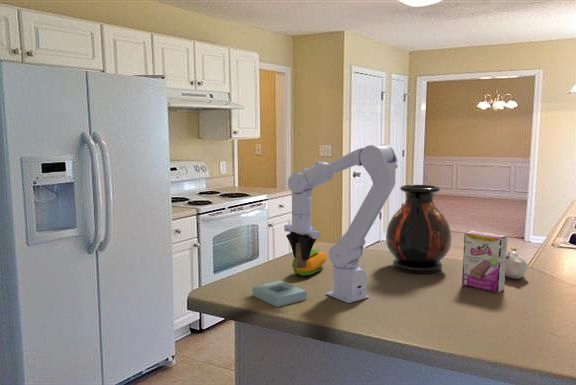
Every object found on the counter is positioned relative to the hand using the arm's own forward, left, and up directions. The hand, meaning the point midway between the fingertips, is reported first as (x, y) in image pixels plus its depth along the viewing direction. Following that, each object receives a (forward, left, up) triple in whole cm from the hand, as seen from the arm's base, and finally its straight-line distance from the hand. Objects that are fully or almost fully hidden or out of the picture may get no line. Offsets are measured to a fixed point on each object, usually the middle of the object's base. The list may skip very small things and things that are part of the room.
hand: (301, 258), depth 151 cm
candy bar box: (-33, -43, -9) cm, 55 cm away
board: (-4, +11, -9) cm, 15 cm away
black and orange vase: (-7, -45, -9) cm, 46 cm away
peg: (0, 0, -2) cm, 2 cm away
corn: (+11, -13, -9) cm, 19 cm away
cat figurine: (-32, -61, -9) cm, 69 cm away
